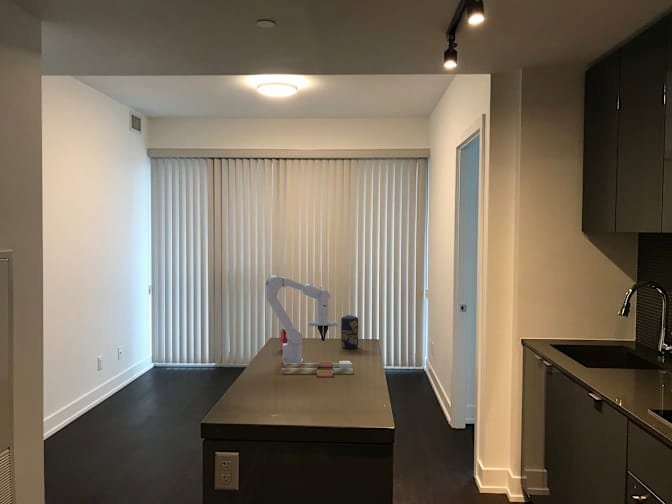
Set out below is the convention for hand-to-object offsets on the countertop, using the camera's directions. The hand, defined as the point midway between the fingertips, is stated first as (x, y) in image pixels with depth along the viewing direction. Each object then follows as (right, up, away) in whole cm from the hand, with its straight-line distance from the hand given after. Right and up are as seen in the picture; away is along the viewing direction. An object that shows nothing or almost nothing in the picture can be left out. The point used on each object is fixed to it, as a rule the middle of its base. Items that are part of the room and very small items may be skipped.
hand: (323, 340), depth 246 cm
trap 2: (+2, -10, -27) cm, 29 cm away
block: (+10, -10, -20) cm, 25 cm away
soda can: (-20, -9, +20) cm, 30 cm away
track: (-2, -10, -20) cm, 22 cm away
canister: (+14, -9, +26) cm, 31 cm away
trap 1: (+2, -10, -12) cm, 15 cm away
